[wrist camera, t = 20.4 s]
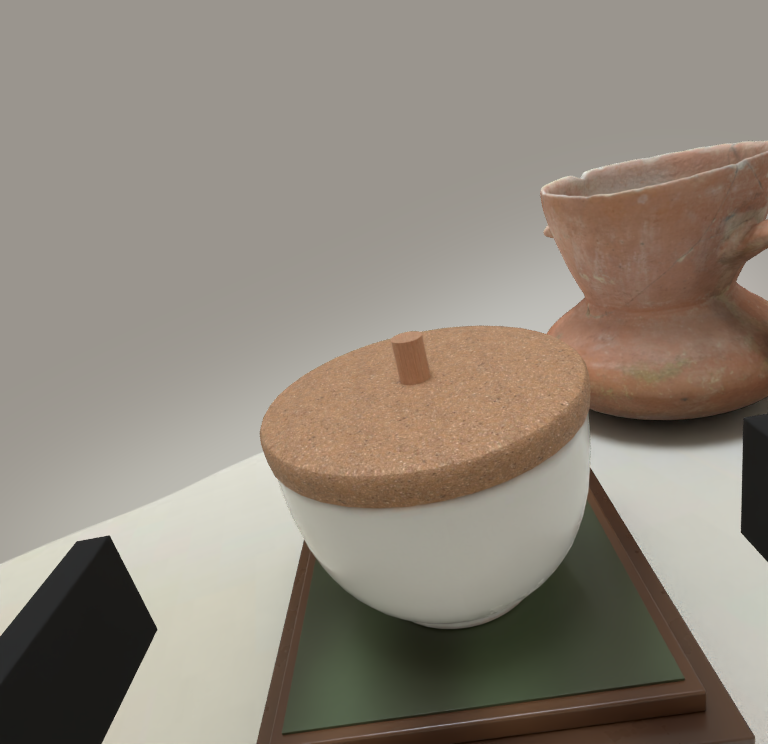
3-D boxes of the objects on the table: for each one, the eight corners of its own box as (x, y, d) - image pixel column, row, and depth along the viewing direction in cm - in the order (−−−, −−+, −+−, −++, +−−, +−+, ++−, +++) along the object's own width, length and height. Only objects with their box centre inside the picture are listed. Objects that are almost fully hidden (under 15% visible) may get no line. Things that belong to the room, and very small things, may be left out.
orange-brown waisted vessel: (493, 393, 41) (461, 200, 36) (633, 330, 46) (623, 152, 40) (726, 503, 25) (730, 187, 20) (903, 390, 30) (943, 111, 25)
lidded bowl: (551, 461, 26) (526, 267, 22) (668, 657, 16) (656, 358, 12) (329, 507, 26) (271, 325, 23) (306, 724, 16) (197, 457, 13)
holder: (267, 850, 16) (232, 781, 15) (324, 540, 29) (307, 489, 28) (753, 795, 15) (756, 714, 14) (587, 495, 28) (581, 439, 27)
